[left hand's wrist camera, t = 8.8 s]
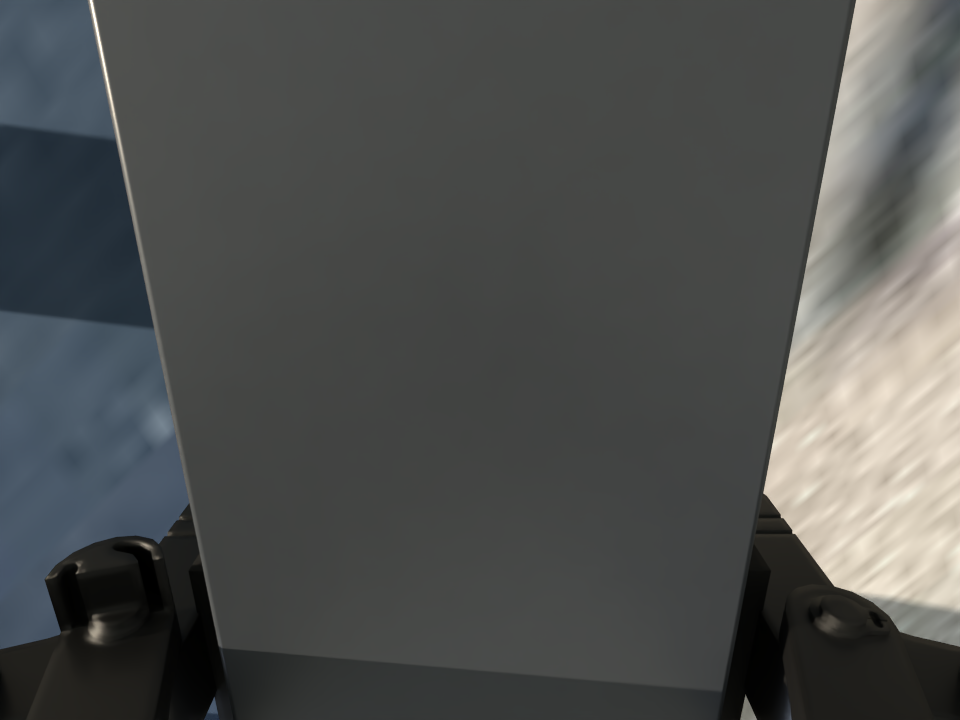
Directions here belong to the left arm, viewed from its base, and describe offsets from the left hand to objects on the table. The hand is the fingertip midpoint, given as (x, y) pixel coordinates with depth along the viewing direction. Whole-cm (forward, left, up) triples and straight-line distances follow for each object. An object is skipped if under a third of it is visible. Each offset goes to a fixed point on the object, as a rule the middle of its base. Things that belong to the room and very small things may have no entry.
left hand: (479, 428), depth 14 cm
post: (+15, +17, -1) cm, 23 cm away
